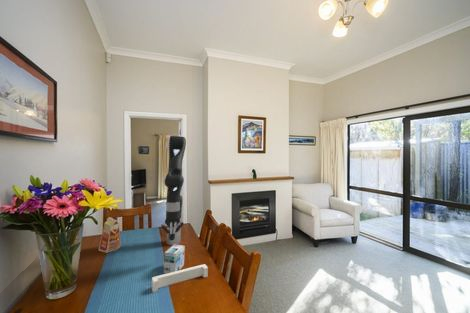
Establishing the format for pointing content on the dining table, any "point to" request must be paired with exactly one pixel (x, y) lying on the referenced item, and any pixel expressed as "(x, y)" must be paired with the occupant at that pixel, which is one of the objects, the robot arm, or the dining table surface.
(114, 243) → the milk carton
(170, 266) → the light bulb box
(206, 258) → the dining table surface
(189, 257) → the dining table surface
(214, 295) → the dining table surface
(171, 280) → the board
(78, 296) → the dining table surface
